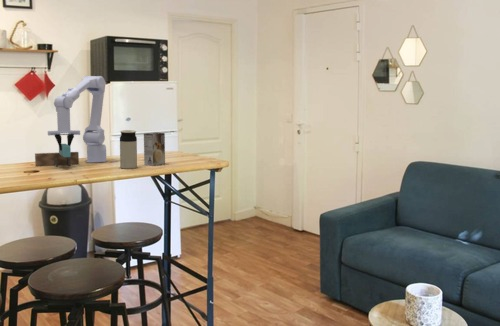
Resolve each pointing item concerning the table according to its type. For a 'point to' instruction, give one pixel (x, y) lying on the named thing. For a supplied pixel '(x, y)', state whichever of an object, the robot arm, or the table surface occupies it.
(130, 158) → the travel mug
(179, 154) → the table surface
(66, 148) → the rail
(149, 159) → the coffee box
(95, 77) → the robot arm
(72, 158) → the brown wooden bar
